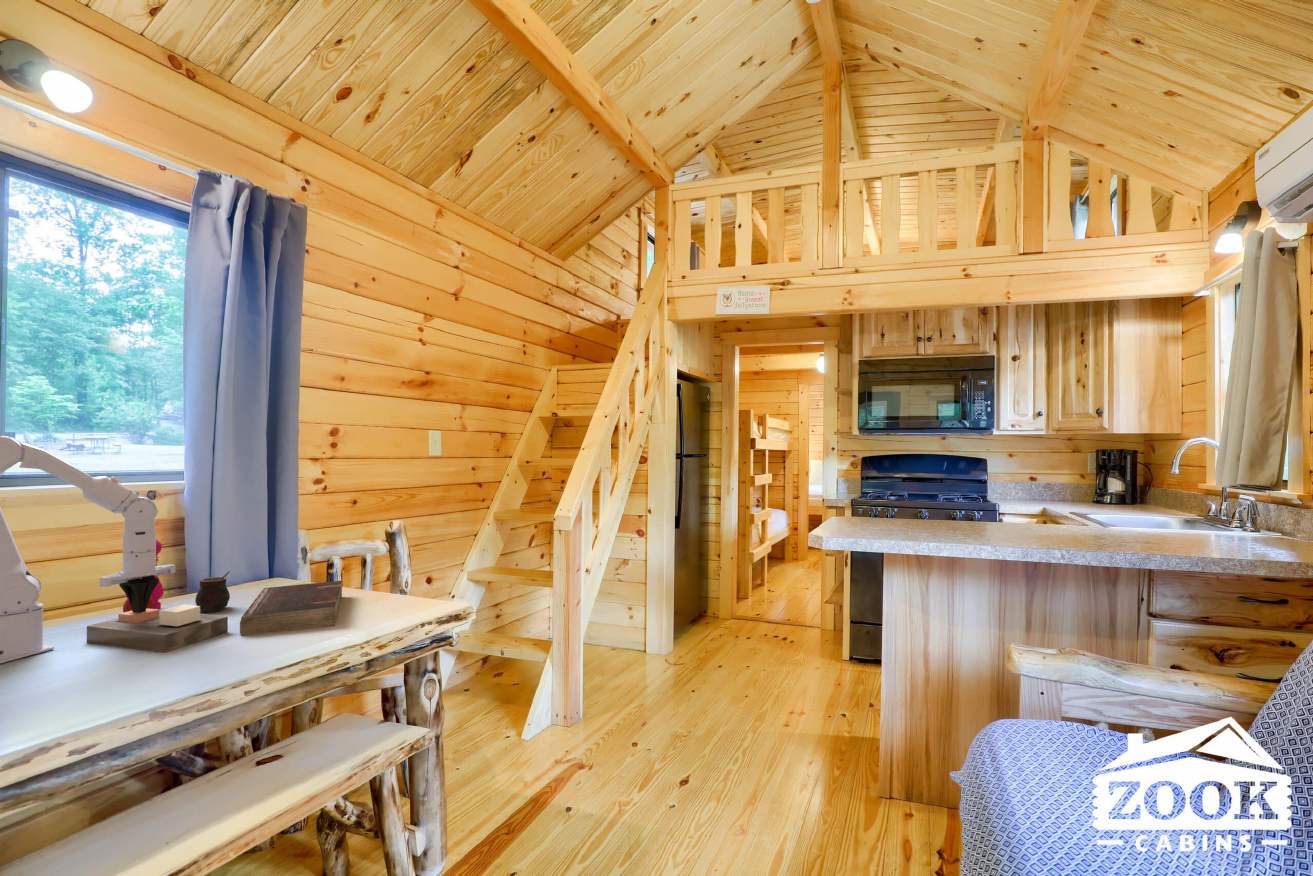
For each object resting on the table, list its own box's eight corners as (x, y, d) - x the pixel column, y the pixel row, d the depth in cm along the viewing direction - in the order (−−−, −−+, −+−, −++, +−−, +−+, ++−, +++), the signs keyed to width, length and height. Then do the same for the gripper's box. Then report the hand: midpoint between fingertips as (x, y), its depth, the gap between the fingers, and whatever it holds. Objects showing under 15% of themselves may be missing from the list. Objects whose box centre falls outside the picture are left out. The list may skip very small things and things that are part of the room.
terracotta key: (135, 629, 136) (135, 615, 136) (118, 627, 138) (118, 613, 138) (158, 623, 141) (159, 609, 141) (142, 621, 142) (142, 608, 142)
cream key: (177, 626, 133) (177, 612, 133) (159, 624, 134) (159, 610, 134) (200, 619, 138) (200, 606, 138) (182, 618, 139) (182, 604, 139)
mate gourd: (202, 607, 162) (203, 568, 162) (235, 605, 164) (236, 567, 164) (189, 614, 155) (190, 574, 155) (224, 613, 157) (225, 573, 157)
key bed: (164, 652, 128) (164, 635, 128) (86, 642, 134) (86, 626, 134) (227, 632, 142) (227, 616, 142) (154, 623, 147) (154, 609, 147)
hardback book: (262, 605, 166) (262, 586, 166) (341, 598, 173) (342, 580, 173) (239, 638, 139) (239, 615, 139) (334, 628, 147) (334, 606, 147)
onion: (160, 619, 151) (161, 585, 151) (138, 626, 146) (139, 591, 146) (138, 618, 152) (139, 585, 152) (116, 625, 146) (116, 591, 146)
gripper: (116, 558, 131) (116, 622, 131) (185, 546, 145) (185, 605, 145) (92, 556, 133) (92, 620, 133) (162, 545, 147) (162, 602, 147)
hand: (139, 612), depth 139 cm, fingers closed, pressing on terracotta key
